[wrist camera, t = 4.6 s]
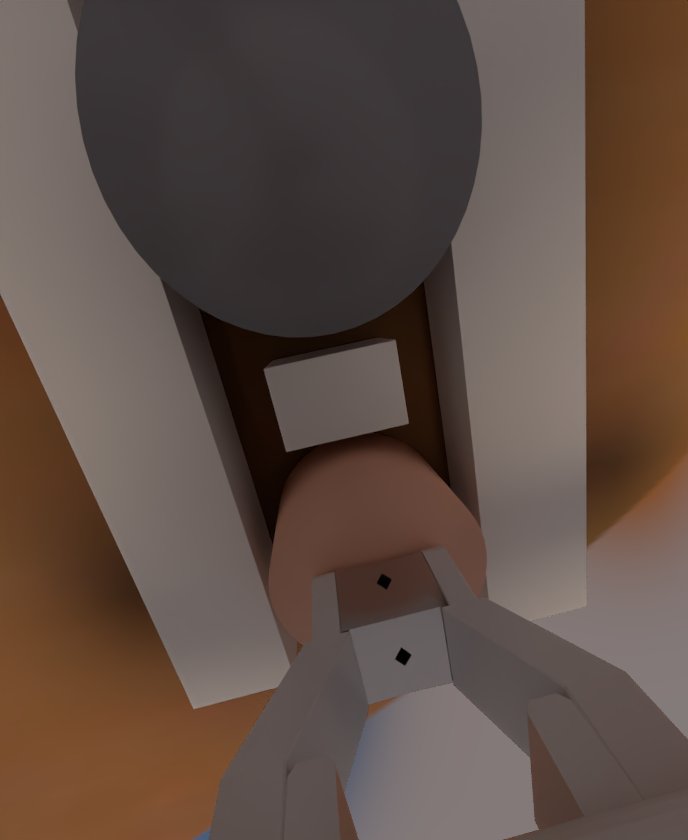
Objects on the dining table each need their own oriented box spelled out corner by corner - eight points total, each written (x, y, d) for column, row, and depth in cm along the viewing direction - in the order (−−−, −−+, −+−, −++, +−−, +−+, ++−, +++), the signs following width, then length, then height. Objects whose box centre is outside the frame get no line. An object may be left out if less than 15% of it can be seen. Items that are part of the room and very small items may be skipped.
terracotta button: (260, 454, 10) (240, 508, 7) (427, 416, 10) (476, 452, 7) (301, 593, 11) (298, 686, 8) (447, 556, 11) (495, 635, 8)
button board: (-296, -581, 5) (-672, -1149, 3) (485, -653, 6) (579, -1179, 4) (212, 646, 12) (193, 708, 10) (543, 562, 12) (586, 606, 10)
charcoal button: (135, 89, 6) (-9, -109, 3) (394, 42, 7) (461, -182, 4) (217, 354, 8) (163, 370, 5) (428, 308, 8) (495, 298, 5)
